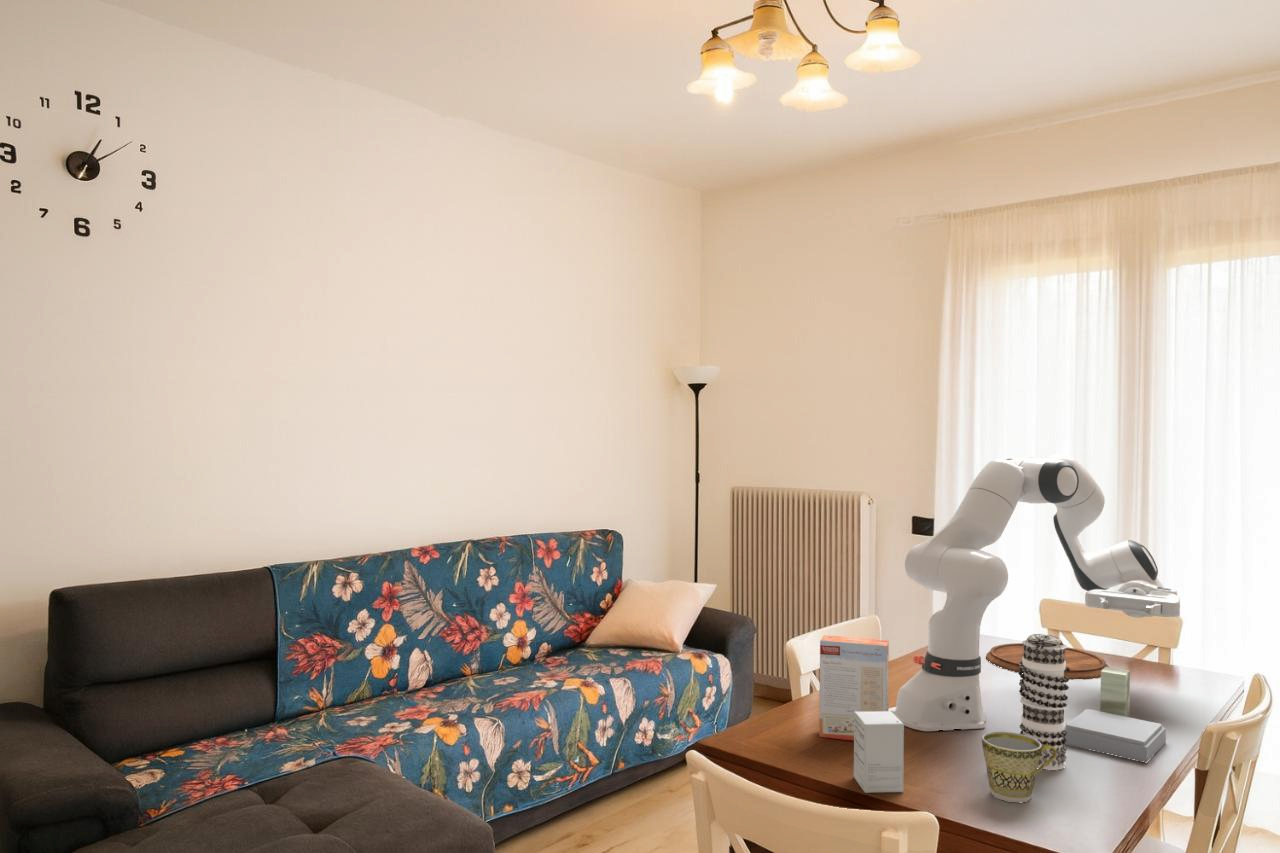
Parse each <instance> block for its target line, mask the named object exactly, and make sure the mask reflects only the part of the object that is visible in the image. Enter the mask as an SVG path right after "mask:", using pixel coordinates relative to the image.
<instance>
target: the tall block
mask: <svg viewBox="0 0 1280 853" xmlns="http://www.w3.org/2000/svg"><path fill="white" fill-rule="evenodd" d="M1130 690H1131V670H1127V669H1122V668H1121V669H1120V668H1116V667H1110V666H1109V667H1105V668H1104V669H1103V670H1102V671H1101V678H1100V700H1099V701H1100V706H1099V707H1100V710H1099V711H1100V712H1105V713H1110V714H1115V715H1120V716H1125V717H1129V718H1130V704H1131V702H1130V699H1131V698H1130V696H1131V694H1130V692H1131V691H1130Z"/></svg>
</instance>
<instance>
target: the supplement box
mask: <svg viewBox="0 0 1280 853" xmlns="http://www.w3.org/2000/svg"><path fill="white" fill-rule="evenodd" d="M904 729H905V726H904V724H903V723H902V722H901V721H900V720H899V719H898V718H897V717H896V716H895V715H894V714H893V713H892V712H891V711H879V712H854V741H853V777H854V779H855V781H856V782H857V784H858V785H859V786H860V788H861V789H862V791H863V792H864V793H865V794H867V793H871V794H872V793H903V792H904V766H905V764H904V762H905V761H904V758H905V757H904V754H905V753H904V750H905V749H904V747H905V736H904V735H905V732H904V731H905V730H904Z"/></svg>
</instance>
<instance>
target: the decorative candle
mask: <svg viewBox="0 0 1280 853" xmlns="http://www.w3.org/2000/svg"><path fill="white" fill-rule="evenodd" d="M1021 643H1023V644H1024V648H1023V654H1024V656H1023V658H1022V661H1020V662H1019V665H1018V666H1019V668H1020V672H1019V673H1018V675H1019V677H1020V678H1021V679H1019V682H1018V684H1019V686H1020V688H1019V690H1018V691H1019V693H1020V696H1021V697H1020V703H1021V704H1022V714H1021V723H1020V725H1019V728H1020V730H1021V731H1020V732H1019V734H1023V735H1027V736H1030V737H1032V738H1034V739H1036V740H1038V741H1039V742H1040V743H1041V744H1042V745H1045V744H1047V745H1051V746H1053V747H1054V748H1055V750H1056V757H1055V759H1054V760H1053V761H1052V762H1050V763H1049V764H1047V765H1046V766H1045V767H1044V768H1043V769H1046V770H1045V771H1050V770H1056V769H1062V768H1064V767H1065V766H1067V765H1066V764H1067V763H1066V761H1067V758H1068V757H1067V756H1066V753H1067V751H1068V749H1067V747H1066V744H1065V743H1066V741H1067V740H1066V739H1065V737H1064V736H1065V735H1066V734H1067V731H1066V730H1065V726H1066V720H1065V710H1066V709H1067V707H1068V706H1067V705H1068V704H1067V702H1065V701H1067V700H1068V699H1069V698H1068V697H1069V696H1068V695H1066V694H1065V691H1067V690H1069V685H1067V683H1068V682H1069V681H1070V679H1069V678H1068V677H1066V676H1064V671H1066V672H1067V671H1069V670H1070V668H1068V667H1066V661H1065V648H1068V646H1067V645H1066V644H1064V643H1063V641H1062V639H1060V638H1059V637H1057V636H1056V635H1052V634H1051V635H1050V634H1045V633H1033V634H1030V635H1029V636H1028V637H1027V638H1026V640H1022V642H1021ZM1022 673H1023V674H1022ZM1053 755H1054V751H1053V749H1046V750H1044V751H1043V752H1042V753H1041V755H1040V759H1039V764H1038V768H1040V767H1041V766H1042V765H1043V764H1044V763H1045V762H1046V761H1048V760H1049V759H1051V758H1052V757H1053ZM1065 768H1066V767H1065ZM1065 768H1064V769H1065ZM1047 769H1048V770H1047ZM1062 770H1063V769H1062ZM1056 771H1057V770H1056Z"/></svg>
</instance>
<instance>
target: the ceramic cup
mask: <svg viewBox="0 0 1280 853" xmlns="http://www.w3.org/2000/svg"><path fill="white" fill-rule="evenodd" d="M981 745H982V750H983V751H982V752H983V757H984V760H985V767H986V774H987V778H988V779H987V780H988V786H989V787H988V788H989V792H990V794H991V793H992V794H993V795H994V796H993V795H992V794H991V795H992V796H993V797H994V798H995V797H996V798H999V799H1002V800H1005V801H1008V802H1007V803H1009V802H1022V803H1021V804H1024V803H1023V802H1026V803H1028V802H1029V801H1031V800H1032V798H1033V793H1034V786H1035V781H1036V777H1037V775H1038V773H1039V772H1041V771H1043V770H1042V769H1043V768H1044V767H1045V766H1046V765H1047V764H1049V763H1050V762H1052V761H1053V760H1054V759H1055V757H1056V750H1055V748H1054V747H1053V746H1051V745H1047V744H1045V745H1042V744H1041V743H1040V742H1039V741H1038V740H1036V739H1034V738H1032V737H1030V736H1027V735H1023V734H1020V732H1013V731H1003V730H1002V731H999V730H997V731H989V732H986V733H983V735H982V736H981ZM1046 749H1053V751H1054V755H1053V757H1052V758H1051V759H1049V760H1048V761H1046V762H1045V763H1044V764H1043V765H1042V766H1041V767H1040V768H1039V769H1037V768H1038V764H1039V759H1040V755H1041V753H1042V752H1043V751H1044V750H1046ZM996 798H995V799H996ZM999 799H998V800H999ZM1030 799H1031V800H1030ZM1002 800H1001V801H1002ZM1028 800H1029V801H1028ZM1005 801H1004V802H1005ZM1027 801H1028V802H1027Z"/></svg>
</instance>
